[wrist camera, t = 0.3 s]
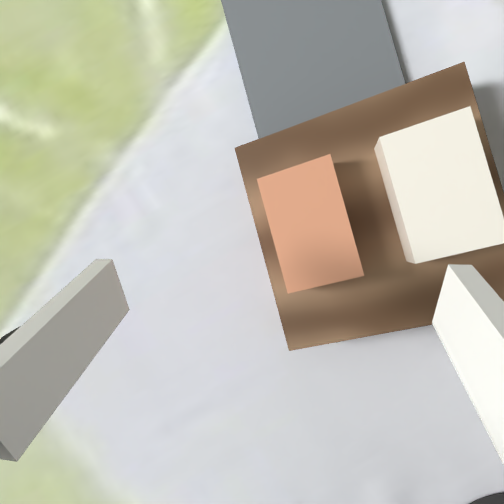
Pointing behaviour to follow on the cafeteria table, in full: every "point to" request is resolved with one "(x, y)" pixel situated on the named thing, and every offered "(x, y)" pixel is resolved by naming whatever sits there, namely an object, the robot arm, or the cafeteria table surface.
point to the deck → (366, 214)
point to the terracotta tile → (310, 225)
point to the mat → (310, 56)
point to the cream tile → (440, 188)
